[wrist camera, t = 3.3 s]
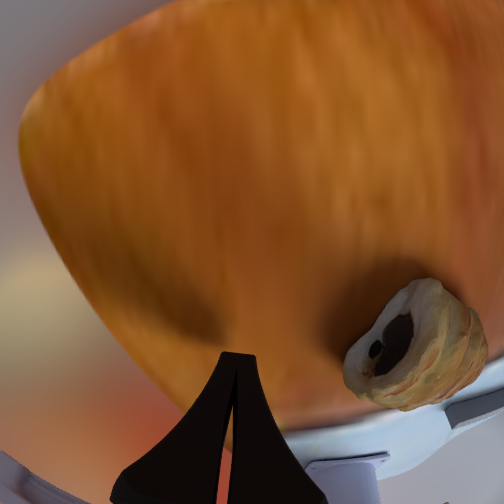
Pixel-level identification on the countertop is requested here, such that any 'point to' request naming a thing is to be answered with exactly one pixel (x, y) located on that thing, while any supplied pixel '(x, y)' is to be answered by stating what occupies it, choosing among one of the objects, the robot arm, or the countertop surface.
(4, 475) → the robot arm
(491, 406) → the tray slot
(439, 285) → the pastry
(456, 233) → the countertop surface
